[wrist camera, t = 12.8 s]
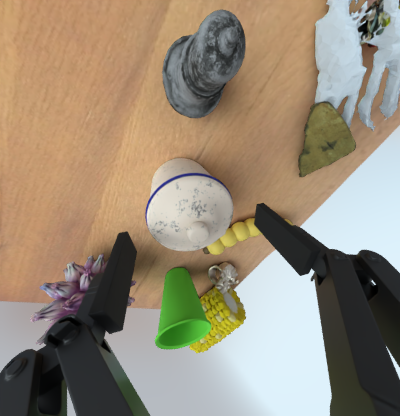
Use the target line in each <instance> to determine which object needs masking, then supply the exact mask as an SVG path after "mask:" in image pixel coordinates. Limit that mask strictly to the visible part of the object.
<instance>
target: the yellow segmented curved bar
mask: <svg viewBox="0 0 400 416" xmlns="http://www.w3.org/2000/svg"><path fill="white" fill-rule="evenodd" d="M254 220H255V218H249V219H247V220H245V222H244V223H243V222H237V223H235V224H233V226H232V227H231V228H228V229H227V230H226V233H225V235H224V236H222V237H220V238H219V239H218V240H217V241H215V242H214V243H212V244H211V245H209V246H207V247H204V248H203V252H204V253H205V254H209V253H211V254H214V255H218V254H221V253H222V252H223V251H224V249H225V247H232V246H234V245H235V244H236V242H237V240H238V241H244V240H246V239H247V238H248V237H249V236H250V237H256V236H258V235H259V234H262V233H261V232H260V231H259V230H258V229H257V228H256V226H255V225H254ZM284 220H285V221H287V222H288V223H289V224H291V225H292V226H293V224H292V222H291V221H289V220H287V219H284ZM262 235H263V234H262Z"/></svg>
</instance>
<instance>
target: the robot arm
mask: <svg viewBox="0 0 400 416" xmlns="http://www.w3.org/2000/svg"><path fill="white" fill-rule="evenodd" d="M254 225H255V226H256V228H257V229H258V230H259V231H260V232H261V233H262V234H263V235H264V236H265V237H266V239H267V240H268V241H269V242H270V243H271V244H272V245H273V246H274V247H275V249H276V250H277V251H278V252H279V253H280V254H281V255H282V256H283V257H284V258H285V260H286V261H287V262H288V263H289V264H290V265H291V266H292V267H293V268H294V269H295V271H296V272H297V273H298V274H299V275H300V276H302V275H305V274H308V273H309V272H310V270H311V268H312V269H313V270H314V271H315V272H314V274H313V276H312V278H311V281H313V279H314V280H315V286H316V292H317V299H318V306H319V312H320V319H321V326H322V333H323V339H324V346H325V352H326V359H327V365H328V372H329V379H330V386H331V393H332V399H331V404H330V416H400V379H399V377H398V374H397V372H396V370H395V367H394V365H393V362H392V360H391V357H390V355H389V353H388V350H387V348H388V349H389V351H390V353H391V354H392V356H393V357H394V359H395V361H396V362H397V364H398V365H399V367H400V273H399V272H398V271H397V270H396V269H395V268H394V267H393V266H392V265H391V264H390V263H389V262H388V261H387V260H386V259H385V258H384V257H382V256H381V255H379V254H377V253H375V252H372V251H369V250H361V251H360V252H359V253H358V254H357V255H349V254H345V253H343V252H341V251H338V250H335V249H329V248H327V247H326V246H324V245H323V244H322V243H321V242H319V241H318V240H316V239H315V238H314V237H312V236H311V235H310V234H308V233H307V232H306V231H305V230H303V229H302V228H300V227H298V226H296V225H293V226H292V225H291V224H289V223H288V222H287V221H285V220H284V219H283V218H282V217H280V216H279V215H278V214H277V213H275V212H274V211H273V210H272V209H270V208H269V207H268V206H267V205H265V204H264V203H261V204H257V206H256V213H255V220H254ZM136 254H137V251H136V249H135V246H134V244H133V242H132V240H131V238H130V236H129V234H128V232H122V233H119V234H118V236H117V239H116V242H115V244H114V247H113V249H112V252H111V255H110V257H109V260H108V263H107V265H106V268H105V271H104V272H102V273H98V274H96V275H95V276H94V278H93V279H92V280H91V282H90V284H89V286H88V288H87V289H88V290H87V291H86V293H85V296H84V297H83V300H82V302H81V304H80V307H79V309H78V311H77V313H76V315H75V314H68V315H66V316H63V317H62V318H60V319H59V320H57V321H56V322H55V323H54V324H53V325H52V326H51V328H50V329H49V330H48V332H47V334H46V336H45V338H44V344H46V346H45V347H43V348H41V349H40V350H38V351H35V350H33V349H28V350H25V351H23V352H21V353H19V354H18V355H17V356H16V357H14V358H13V359H12V360H11V361H10V362H9V363H8V364H7V365H6V366H5V367H4V368H3V370H2V371H1V373H0V416H67V388H68V391H69V394H70V397H71V400H72V403H73V406H74V409H75V413H76V416H150V414H149V413H148V411H147V409H146V408H145V406H144V404H143V402H142V401H141V399H140V397H139V396H138V394H137V392H136V391H135V389H134V387H133V385H132V384H131V382H130V380H129V379H128V377H127V375H126V373H125V372H124V370H123V369H122V367H121V365H120V363H119V362H118V360H117V358H116V357H115V355H114V353H113V352H112V350H111V348H110V346H109V345H108V343H107V341H106V340H105V339H104V336H105V332H106V331H107V332H108V333H109V334H112V333H114V332H118V331H121V330H123V325H124V319H125V314H126V309H127V303H128V298H129V292H130V287H131V282H132V276H133V271H134V265H135V260H136ZM372 280H373V281H374V282H375V284H376V285H374V284H373V283H372V282H371V281H372ZM386 346H387V348H386Z"/></svg>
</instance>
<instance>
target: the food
mask: <svg viewBox="0 0 400 416" xmlns="http://www.w3.org/2000/svg"><path fill="white" fill-rule="evenodd" d="M200 302H201V304H202V307H203V310H204V312H205V315H206V317H207V320H209V321H210V322H211V330H210V332H209V333H208V334H207V335H206V336H205V337H204V338H202V339H201V340H199V341H197V342H195V343H193V344H191V345H190V349H191V350H194V351H195V352H196V353H200V352H204V351H206V350H208V348H210V347H211V346H213V345H214V344H216V343H218V341H219V342H220V341H221V340H222V339H223V338H225V337H226V335H229V334H230V333H231V332H232V331H234V330H235V329H236V328H238V327H239V326H240V325H241V324H243V321H244V320H245V319H246V317H245V310H244V308H243V304H242V303H241V302H240V298H239V297H238V296H237V293H236V292H235V291H234V290H232V288H231V287H230V288H229V289H227V292H226V293H225V294H222V293H221V292H220V291H219V290H218V289H217V288H216V286H215V287H213V289H211V290H209V291H208V292H207V293H205V294H204V296H202V297H201V299H200Z"/></svg>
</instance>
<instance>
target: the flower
mask: <svg viewBox="0 0 400 416" xmlns="http://www.w3.org/2000/svg"><path fill="white" fill-rule="evenodd" d="M108 260H109V259H108ZM108 260H107V262H105V261H104V254H101V255H99V257H98V259H97V261H96V262H95V261H94V258H93V256H90V257H88V260H87V262H86V264H85V265H84V267H83V266H80V265H77V264H75V263H74V262H73V261H72V262H70V263H69V264H67V267H68V269H67V268H66V269H64V270H63V271H64V273H65V275H66V281H67V282H65V281H61V282H55V283H44V284H43V286H40V287H39V288H40V289H42V290H45V291H46V293H47V294H48V295H49V296H50V297H52V298H54V299H55V301H53V302H51V303H49V304H48V305H46V306H45V307H44V308H43V309H41V310H40V311H39V312H36V313H35V314H33V315H32V316H31V322H34V321H37V320H47V321H51V320H54V319H55V320H54V321H53V322H52V323H51V324H50V325H49V327H48V329H47V330H46V332H45V334H44V335H43V336H42V337H41V338H40V339H39V340H38V341H37V342H36V344H37V343H40V345H41V344H42V343H43V342H44V338H45V336H46V334H47V332H48V330H49V329H50V328H51V326H52V325H53V324H54V323H55V322H56V321H57V320H59V319H60V318H62V317H63V316H66V315H68V314H75V315H76V313H77V311H78V309H79V307H80V304H81V302H82V300H83V297H84V296H85V293H86V291H87V290H88V289H87V288H88V286H89V284H90V282H91V280H92V279H93V278H94V276H95V275H96V274H98V273H102V272H104V271H105V268H106V265H107V263H108ZM135 283H136V281H135V280H133V281H132V282H131V286H133V285H135ZM134 301H135V299H134V298H132V297H130V296H129V298H128V303H127V306H130V305H131V302H134Z"/></svg>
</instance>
